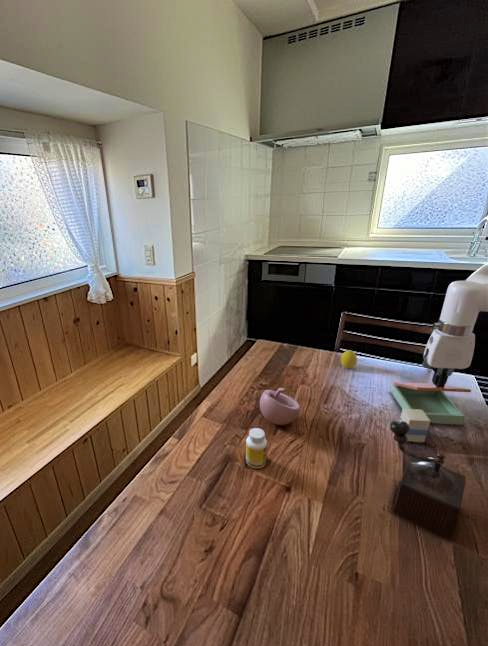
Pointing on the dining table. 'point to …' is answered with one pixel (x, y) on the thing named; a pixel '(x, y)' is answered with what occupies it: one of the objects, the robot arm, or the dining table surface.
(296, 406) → the mortar and pestle
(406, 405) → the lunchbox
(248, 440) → the supplement bottle
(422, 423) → the drink carton
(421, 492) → the manual coffee grinder
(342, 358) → the lemon
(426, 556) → the dining table surface
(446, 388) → the lunchbox lid
